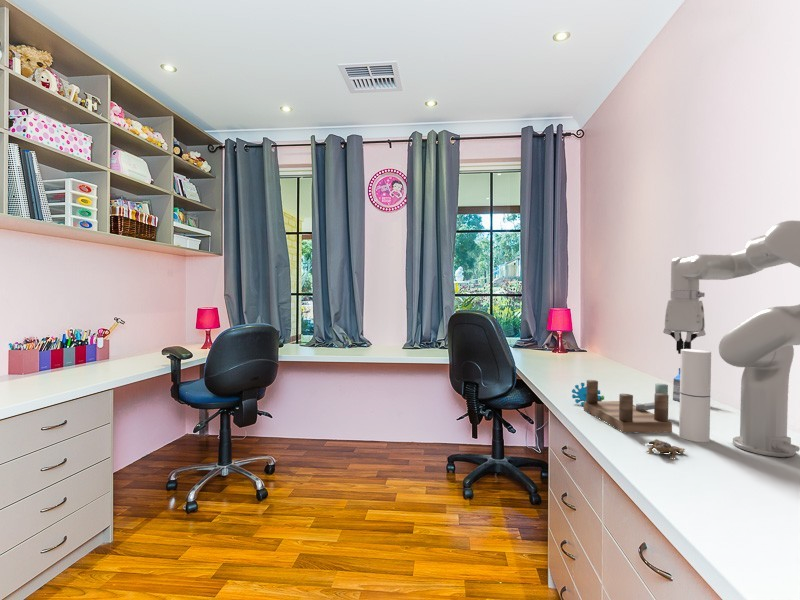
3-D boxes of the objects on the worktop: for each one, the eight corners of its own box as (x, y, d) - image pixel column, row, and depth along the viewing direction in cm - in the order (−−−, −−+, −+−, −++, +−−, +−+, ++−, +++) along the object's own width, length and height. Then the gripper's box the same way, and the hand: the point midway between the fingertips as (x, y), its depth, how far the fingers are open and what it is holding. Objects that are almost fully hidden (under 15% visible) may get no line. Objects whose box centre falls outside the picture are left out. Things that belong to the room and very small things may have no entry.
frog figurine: (689, 467, 102) (689, 451, 102) (633, 454, 110) (633, 439, 110) (695, 453, 111) (695, 439, 110) (643, 442, 118) (643, 429, 118)
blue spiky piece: (568, 400, 156) (575, 378, 161) (569, 408, 160) (576, 387, 165) (600, 409, 150) (607, 386, 155) (600, 417, 154) (607, 395, 159)
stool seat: (671, 432, 126) (672, 396, 126) (623, 432, 125) (623, 396, 125) (624, 409, 150) (625, 379, 150) (583, 410, 149) (583, 379, 149)
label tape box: (672, 400, 164) (672, 368, 163) (678, 398, 165) (678, 367, 165) (697, 405, 156) (697, 372, 155) (703, 404, 158) (703, 371, 157)
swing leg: (642, 411, 136) (643, 388, 135) (632, 409, 139) (633, 386, 139) (670, 407, 141) (670, 385, 141) (659, 405, 144) (660, 383, 144)
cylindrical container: (680, 439, 120) (682, 351, 119) (677, 432, 126) (679, 348, 125) (711, 443, 116) (713, 353, 116) (707, 435, 123) (708, 350, 122)
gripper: (716, 296, 132) (715, 355, 132) (660, 295, 143) (660, 350, 143) (711, 296, 127) (710, 357, 127) (653, 295, 138) (652, 352, 138)
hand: (683, 353), depth 135 cm, fingers closed
